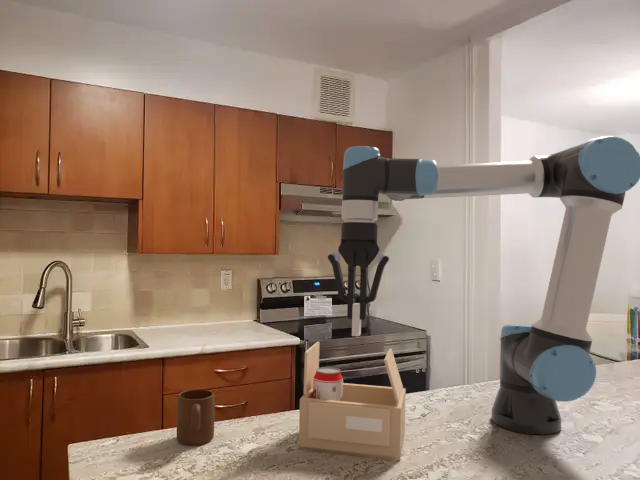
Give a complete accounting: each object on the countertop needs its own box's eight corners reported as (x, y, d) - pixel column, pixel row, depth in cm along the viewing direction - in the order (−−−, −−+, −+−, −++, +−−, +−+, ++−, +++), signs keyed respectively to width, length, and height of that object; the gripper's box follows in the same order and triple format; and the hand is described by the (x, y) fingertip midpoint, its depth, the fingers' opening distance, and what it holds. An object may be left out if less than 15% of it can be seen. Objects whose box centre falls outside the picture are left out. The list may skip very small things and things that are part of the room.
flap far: (305, 394, 104) (303, 393, 104) (318, 379, 115) (316, 379, 115) (307, 352, 104) (304, 351, 104) (319, 341, 115) (317, 341, 115)
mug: (215, 454, 100) (216, 405, 100) (174, 457, 98) (175, 407, 98) (213, 431, 111) (214, 388, 111) (177, 433, 110) (177, 389, 110)
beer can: (344, 443, 109) (346, 368, 109) (336, 454, 103) (338, 374, 103) (316, 439, 111) (318, 365, 111) (306, 450, 105) (309, 371, 105)
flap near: (400, 387, 111) (402, 386, 111) (396, 402, 100) (399, 402, 100) (389, 348, 111) (391, 348, 111) (383, 360, 100) (386, 359, 100)
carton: (404, 433, 112) (405, 387, 112) (399, 462, 98) (400, 409, 98) (315, 424, 117) (316, 380, 117) (298, 450, 102) (299, 400, 102)
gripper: (392, 223, 109) (389, 334, 109) (332, 222, 112) (329, 329, 112) (389, 221, 102) (385, 340, 102) (325, 220, 105) (321, 336, 105)
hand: (356, 334), depth 107 cm, fingers closed
